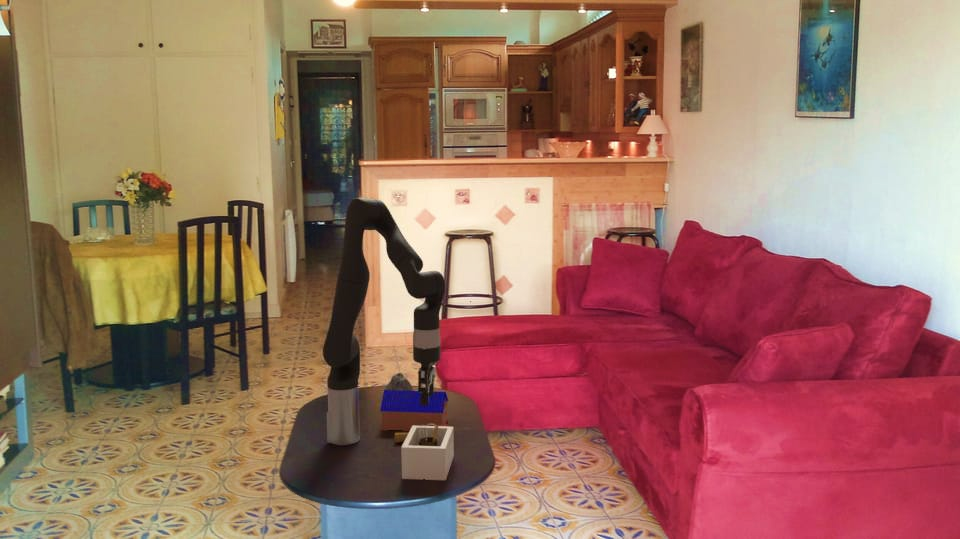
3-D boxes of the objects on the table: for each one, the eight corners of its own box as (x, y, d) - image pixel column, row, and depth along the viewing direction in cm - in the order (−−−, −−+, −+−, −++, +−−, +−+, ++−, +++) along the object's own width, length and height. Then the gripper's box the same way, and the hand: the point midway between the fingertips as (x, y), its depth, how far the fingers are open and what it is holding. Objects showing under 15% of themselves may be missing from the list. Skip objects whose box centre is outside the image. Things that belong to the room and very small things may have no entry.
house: (443, 433, 262) (442, 397, 260) (380, 431, 264) (379, 395, 262) (448, 420, 274) (448, 386, 272) (388, 418, 276) (388, 384, 274)
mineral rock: (383, 394, 301) (382, 367, 299) (413, 393, 302) (412, 366, 301) (384, 406, 288) (384, 377, 286) (416, 404, 290) (415, 376, 288)
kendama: (394, 452, 250) (453, 445, 248) (391, 431, 250) (450, 424, 248) (399, 447, 258) (456, 440, 256) (396, 426, 258) (454, 420, 256)
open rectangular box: (402, 478, 227) (401, 447, 226) (413, 454, 244) (412, 425, 243) (445, 480, 226) (445, 448, 225) (453, 456, 243) (453, 426, 241)
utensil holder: (426, 457, 239) (426, 417, 237) (444, 462, 235) (443, 422, 233) (413, 464, 234) (412, 423, 232) (430, 469, 231) (430, 428, 229)
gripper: (417, 337, 236) (418, 392, 239) (408, 350, 222) (409, 408, 225) (444, 337, 236) (444, 393, 238) (436, 350, 222) (436, 409, 224)
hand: (427, 400), depth 232 cm, fingers open, 8 cm apart
